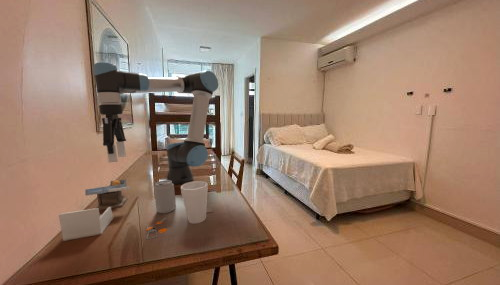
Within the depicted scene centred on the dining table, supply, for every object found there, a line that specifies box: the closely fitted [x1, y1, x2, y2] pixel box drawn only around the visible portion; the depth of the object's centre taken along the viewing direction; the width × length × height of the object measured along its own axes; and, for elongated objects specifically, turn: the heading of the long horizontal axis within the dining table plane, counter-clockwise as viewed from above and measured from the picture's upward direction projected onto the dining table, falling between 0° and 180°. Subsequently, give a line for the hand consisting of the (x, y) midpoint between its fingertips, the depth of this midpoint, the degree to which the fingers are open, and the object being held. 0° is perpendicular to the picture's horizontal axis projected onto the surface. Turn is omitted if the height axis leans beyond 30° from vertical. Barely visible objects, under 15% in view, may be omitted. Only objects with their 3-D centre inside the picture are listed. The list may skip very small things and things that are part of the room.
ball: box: [112, 180, 120, 186], centre depth 101 cm, size 4×4×4 cm
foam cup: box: [180, 180, 209, 224], centre depth 75 cm, size 10×9×13 cm
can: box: [153, 179, 177, 214], centre depth 84 cm, size 8×8×12 cm
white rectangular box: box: [58, 207, 114, 242], centre depth 72 cm, size 12×11×9 cm
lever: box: [84, 179, 132, 196], centre depth 93 cm, size 28×13×4 cm, turn 16°
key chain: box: [145, 217, 168, 240], centre depth 71 cm, size 13×7×1 cm, turn 23°
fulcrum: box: [94, 186, 128, 211], centre depth 92 cm, size 8×11×8 cm
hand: (117, 159), depth 84 cm, fingers open, 10 cm apart
